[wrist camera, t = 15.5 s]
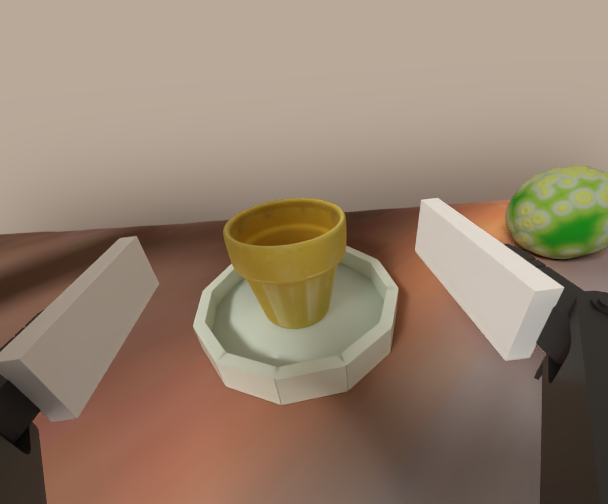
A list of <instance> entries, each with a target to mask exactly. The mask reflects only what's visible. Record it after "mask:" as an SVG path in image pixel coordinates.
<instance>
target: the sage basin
mask: <svg viewBox="0 0 608 504" xmlns="http://www.w3.org/2000/svg"><path fill="white" fill-rule="evenodd" d="M397 302H398V286H397V285H396V284H395V282H394V281H393V280H392V278H391V277H390V275H389V274H388V273H387V271H386V270H385V269H384V267H383V266H382V264H381V263H380V262H379V260H378V259H375V258H373V257H371V256H369V255H366V254H364V253H362V252H360V251H357V250H355V249H353V248H351V247H348V246H346V251H345V255H344V257H343V259H342V260H341V262H340V263H339V264H338V265H337V270H336V275H335V280H334V285H333V290H332V296H331V301H330V307H329V310H328V312H327V313H326V315H325V316H324V317H323V318H322V319H321V320H320V321H319V322H317V323H315V324H313V325H311V326H308V327H305V328H300V329H287V328H282V327H279V326H277V325H275V324H273V323H272V322H271V321H270V320H269V319H268V318H267V316H266V315H265V313H264V311H263V309H262V307H261V305H260V303H259V302H258V300H257V298H256V296H255V294H254V292H253V291H252V289H251V287H250V285H249V283H248V282H247V280H246V278H244V277H242V276H240V275H239V274H238V273H237V272H236V271H235V269H234V268H233V265H232V264H231V265H230V266H229V267H228V268H227V269H226V270H224V271H223V272H222V273H221V274H220V275H219V276H218V277H217V278H216V279H215V280H214V281H213V282H212V283H211V284H210V285H209V286H208V287H207V288H206V289H205V290H204V291H203V292H202V296H201V299H200V303H199V307H198V310H197V314H196V317H195V321H194V325H193V328H194V330H195V332H196V334H197V337H198V339H199V341H200V343H201V346H202V348H203V350H204V352H205V353H206V355H207V357H208V358H209V360H210V361H211V363H212V365H213V366H214V368H215V370H216V371H217V373H218V375H219V376H220V378H221V380H222V381H223V383H224V385H225V386H226V387H229V388H232V389H235V390H238V391H241V392H244V393H247V394H250V395H253V396H256V397H259V398H261V399H264V400H267V401H270V402H273V403H276V404H279V405H281V404H282V405H285V404H290V403H295V402H299V401H304V400H309V399H314V398H318V397H323V396H328V395H333V394H337V393H342V392H347V390H348V391H349V390H350V389H351V388H352V387H353V386H354V385H356V384H357V383H358V382H359V381H360V380H361V379H362V378H363V377H364V376H365V375H366V374H368V373H369V372H370V371H371V370H372V369H373V368H374V367H375V366H376V365H377V364H379V363H380V362H381V361H382V360H383V359H384V358H385V357H386V356H387V355H388V354H390V352H391V345H392V339H393V333H394V326H395V320H396V313H397Z"/></svg>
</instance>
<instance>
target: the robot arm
mask: <svg viewBox="0 0 608 504" xmlns="http://www.w3.org/2000/svg"><path fill="white" fill-rule="evenodd" d="M415 252H416V253H417V254H418V255H419V256H420V258H421V259H422V260H423V261H424V263H425V264H426V265H427V266H428V267H429V269H430V270H431V271H432V272H433V273H434V275H435V276H436V277H437V278H438V280H439V281H440V282H441V283H442V284H443V286H444V287H445V288H446V289H447V291H448V292H449V293H450V294H451V295H452V297H453V298H454V299H455V300H456V301H457V303H458V304H459V305H460V306H461V308H462V309H463V310H464V311H465V312H466V314H467V315H468V316H469V317H470V318H471V320H472V321H473V322H474V323H475V325H476V326H477V327H478V328H479V329H480V331H481V332H482V333H483V334H484V335H485V337H486V338H487V339H488V340H489V342H490V343H491V344H492V345H493V346H494V348H495V349H496V350H497V351H498V353H499V354H500V355H501V356H502V357H503V359H504V360H505V361H509V360H516V359H524V358H530V357H531V354H532V352H533V350H534V348H535V346H536V344H538V345H539V346H540V347H541V348H542V349H543V350H544V351H545V352H546V353H547V354H546V356H545V357H544V359H543V361H542V363H541V365H540V367H539V369H538V371H537V372H536V375H535V377H534V378H536V379H538V380H539V378H540V377H541V375H542V426H541V482H540V504H608V293H606V292H599V291H583V290H582V289H580V288H579V287H577V286H576V285H574V284H573V283H571V282H570V281H568V280H567V279H565V278H564V277H562V276H561V275H560V274H558V273H557V272H555V271H554V270H552V269H551V268H549V267H546V265H545V264H543V263H542V262H540V261H539V260H535V258H534V257H533V256H531V255H530V254H528V253H527V252H525V251H524V250H522V249H519V248H517V247H514V246H512V245H509V244H502V243H501V242H499V241H498V240H496V239H495V238H494V237H492V236H491V235H489V234H488V233H487V232H485V231H484V230H482V229H481V228H479V227H478V226H477V225H475V224H474V223H472V222H471V221H470V220H468V219H467V218H465V217H464V216H463V215H461V214H460V213H458V212H457V211H455V210H454V209H453V208H451V207H450V206H448V205H447V204H446V203H444V202H443V201H441V200H440V199H438V198H433V199H426V200H421V206H420V214H419V222H418V230H417V238H416V246H415ZM158 285H159V282H158V280H157V278H156V276H155V274H154V272H153V270H152V268H151V265H150V263H149V261H148V259H147V257H146V255H145V253H144V251H143V249H142V246H141V244H140V242H139V240H138V238H137V236H133V237H125V238H119V239H118V240H117V241H116V242H115V243H114V244H113V245H112V246H111V247H110V248H109V249H108V250H107V251H106V252H105V253H104V254H103V255H102V256H100V257H99V258H98V259H97V260H96V261H95V262H94V263H93V264H92V265H91V266H90V267H89V268H88V269H87V270H86V271H85V272H84V273H83V274H82V275H81V276H79V277H78V278H77V279H76V280H75V281H74V282H73V283H72V284H71V285H70V286H69V287H68V288H67V289H66V290H65V291H64V292H63V293H62V294H61V295H60V296H58V297H57V298H56V299H55V300H54V301H53V302H52V303H51V304H50V305H49V306H48V307H47V308H46V309H44V310H43V311H41V312H40V313H38V314H37V315H36V316H35V317H34V318H33V319H32V320H31V321H30V322H28V323H27V324H26V325H25V326H26V327H25V328H22V329H21V330H20V331H19V332H18V333H17V334H16V335H15V337H14V338H12V339H10V340H9V341H8V342H7V343H6V344H5V345H4V346H3V347H2V348H1V349H0V504H47V502H46V493H45V484H44V475H43V466H42V457H41V448H40V439H39V430H38V428H37V427H36V425H35V424H33V423H32V421H33V420H34V418H35V417H36V416H37V414H38V413H39V412H40V411H41V412H42V413H43V414H44V415H45V416H46V417H47V418H48V419H50V420H51V421H52V422H54V421H62V420H69V419H77V418H78V417H79V415H80V413H81V412H82V410H83V409H84V407H85V405H86V404H87V402H88V400H89V399H90V397H91V395H92V394H93V392H94V390H95V389H96V387H97V385H98V384H99V382H100V381H101V379H102V377H103V376H104V374H105V372H106V371H107V369H108V367H109V366H110V364H111V362H112V361H113V359H114V357H115V356H116V354H117V353H118V351H119V349H120V348H121V346H122V344H123V343H124V341H125V339H126V338H127V336H128V334H129V333H130V331H131V329H132V328H133V326H134V325H135V323H136V321H137V320H138V318H139V316H140V315H141V313H142V311H143V310H144V308H145V306H146V305H147V303H148V301H149V300H150V298H151V297H152V295H153V293H154V292H155V290H156V288H157V287H158Z"/></svg>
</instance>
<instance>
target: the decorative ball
mask: <svg viewBox="0 0 608 504" xmlns="http://www.w3.org/2000/svg"><path fill="white" fill-rule="evenodd" d="M506 225H507V227H508V229H509V231H510V232H511V234H512V237H513V239H514V240H515V241H516V242H517V243H518V244H519V245H520V246H522V247H523V248H524V249H526V250H529V251H532V252H534V253H535V254H538V255H541V256H543V257H549V258H554V259H569V258H574V257H579V256H583V255H587V254H591V253H595V252H598V251H601V250H603V249H604V248H606V247H608V173H606V172H604V171H601V170H597V169H594V168H591V167H587V166H567V167H562V168H556V169H551V170H548V171H545V172H542V173H540V174H537V175H535V176H533V177H532V178H531V179H530V180H528V181H527V182H526V183H524V184H523V185H522V186H521V187H520V188H519V189H518V191H517V192H516V193H515V195H514V196H513V198H512V199H511V201H510V203H509V205H508V207H507V209H506Z"/></svg>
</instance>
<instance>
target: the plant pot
mask: <svg viewBox="0 0 608 504" xmlns="http://www.w3.org/2000/svg"><path fill="white" fill-rule="evenodd" d="M223 236H224V240H225V244H226V248H227V251H228V254H229V257H230V260H231V263H232V265H233V268H234V269H235V271H236V272H237V273H238V274H239V275H240V276H242V277H244V278H246V280H247V282H248V283H249V285H250V287H251V289H252V291H253V292H254V294H255V296H256V298H257V300H258V302H259V303H260V305H261V307H262V309H263V311H264V313H265V315H266V316H267V318H268V319H269V320H270V321H271V322H272V323H273V324H275V325H277V326H279V327H282V328H287V329H300V328H305V327H308V326H311V325H313V324H315V323H317V322H319V321H320V320H321V319H322V318H323V317H324V316H325V315H326V313H327V312H328V310H329V307H330V301H331V296H332V290H333V285H334V280H335V275H336V270H337V265H338V264H339V263H340V262H341V260H342V259H343V257H344V255H345V251H346V216H345V214H344V212H343V210H342V209H341V208H340V207H339V206H337V205H336V204H333V203H331V202H328V201H324V200H319V199H311V198H292V199H282V200H275V201H271V202H266V203H263V204H259V205H256V206H253V207H250V208H248V209H246V210H243V211H241V212H240V213H238V214H236V215H235V216H234V217H232V218H231V219H230V220H229V221H228V222H227V223H226V225H225V226H224V229H223Z"/></svg>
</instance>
